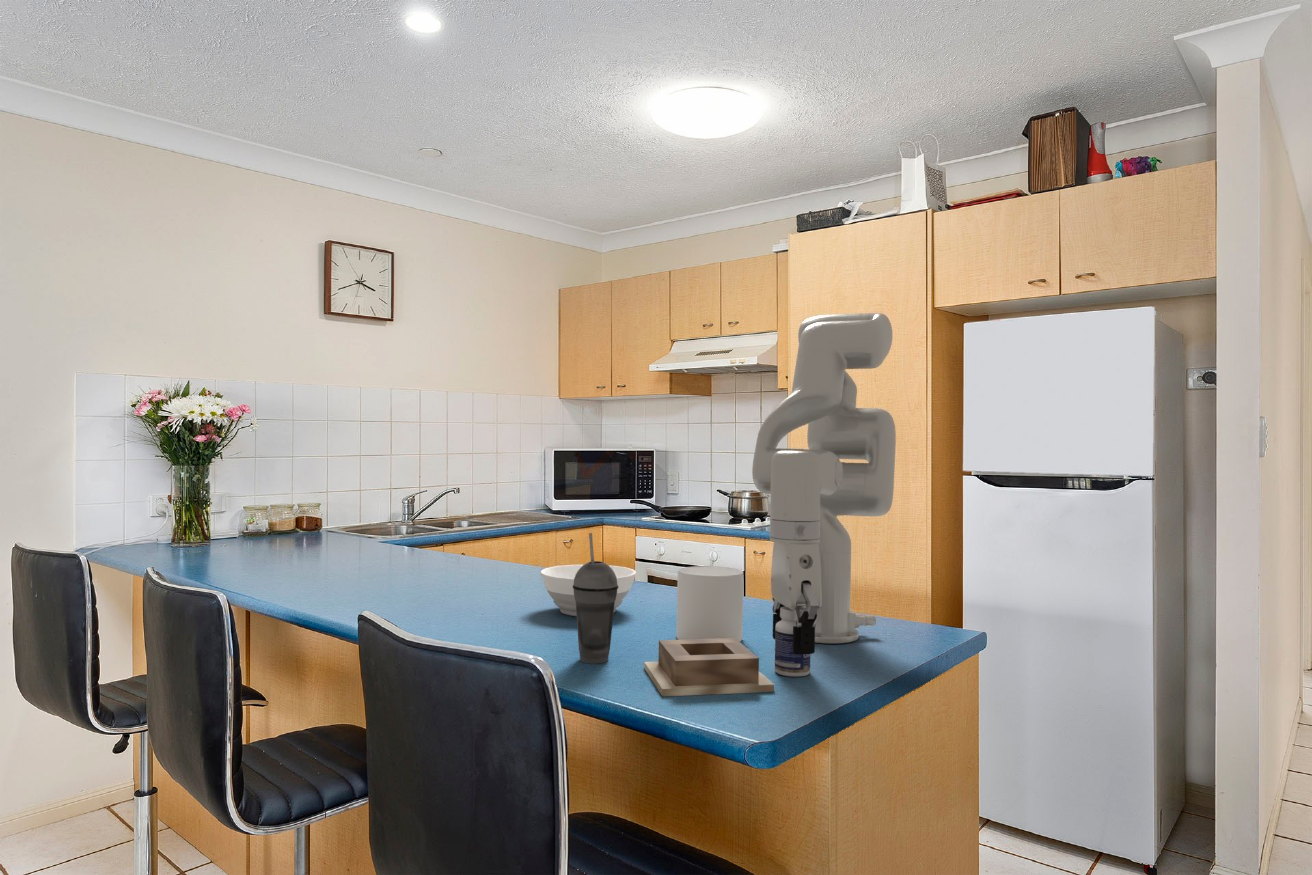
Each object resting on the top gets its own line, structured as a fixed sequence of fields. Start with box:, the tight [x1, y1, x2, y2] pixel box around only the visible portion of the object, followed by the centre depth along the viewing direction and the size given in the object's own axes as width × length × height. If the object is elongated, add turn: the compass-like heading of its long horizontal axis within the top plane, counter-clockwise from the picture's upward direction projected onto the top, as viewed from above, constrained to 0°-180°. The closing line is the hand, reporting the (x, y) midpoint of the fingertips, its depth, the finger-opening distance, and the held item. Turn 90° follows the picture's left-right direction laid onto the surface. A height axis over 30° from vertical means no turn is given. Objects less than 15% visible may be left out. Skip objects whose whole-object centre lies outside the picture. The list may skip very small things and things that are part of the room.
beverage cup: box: [573, 532, 618, 664], centre depth 130 cm, size 7×7×20 cm
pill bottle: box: [774, 606, 812, 678], centre depth 125 cm, size 5×5×10 cm
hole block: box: [643, 638, 775, 697], centre depth 120 cm, size 16×14×4 cm
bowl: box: [540, 563, 637, 617], centre depth 167 cm, size 20×20×8 cm
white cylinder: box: [676, 565, 744, 643], centre depth 146 cm, size 12×12×12 cm
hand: (792, 645), depth 125 cm, fingers open, 8 cm apart
